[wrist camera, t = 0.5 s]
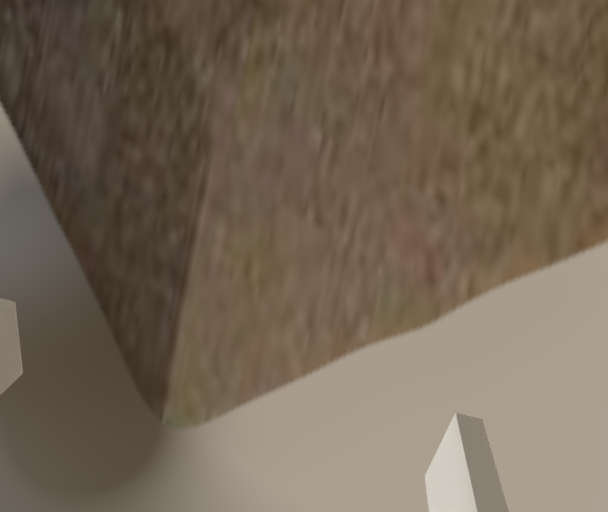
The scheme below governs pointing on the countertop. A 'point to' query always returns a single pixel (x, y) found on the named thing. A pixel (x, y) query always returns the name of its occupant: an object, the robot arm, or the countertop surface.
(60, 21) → the countertop surface
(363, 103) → the countertop surface
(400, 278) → the countertop surface
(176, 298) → the countertop surface
